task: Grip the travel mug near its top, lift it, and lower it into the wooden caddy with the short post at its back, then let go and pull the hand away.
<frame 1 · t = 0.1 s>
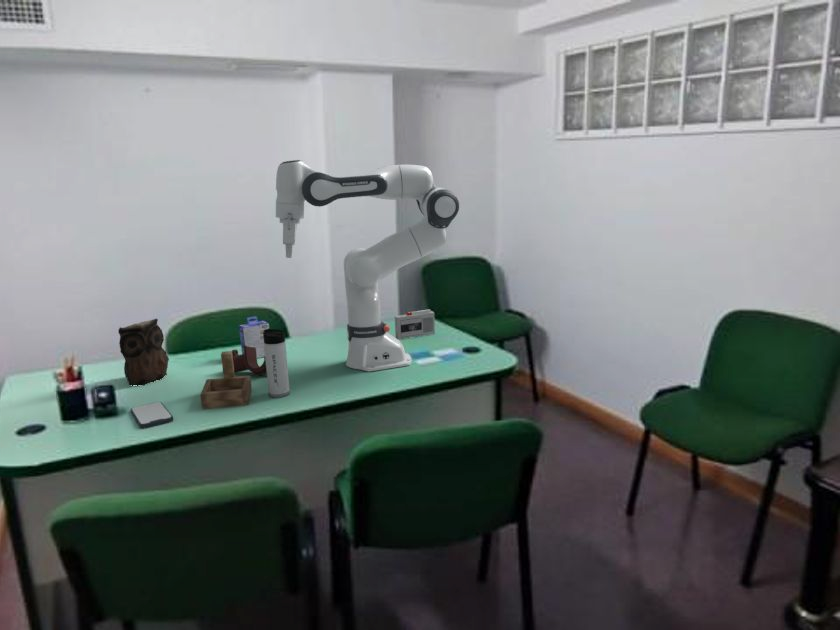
hand: (289, 255, 205), 39 cm above the table, tool pointing down, fingers open, 8 cm apart
wooden caddy: (227, 398, 190), on the table
phone case: (151, 418, 179), on the table
owl: (145, 379, 210), on the table
travel mug: (279, 394, 192), on the table
cassette player: (415, 336, 249), on the table
bracket: (253, 374, 212), on the table
ink cartridge box: (257, 356, 230), on the table
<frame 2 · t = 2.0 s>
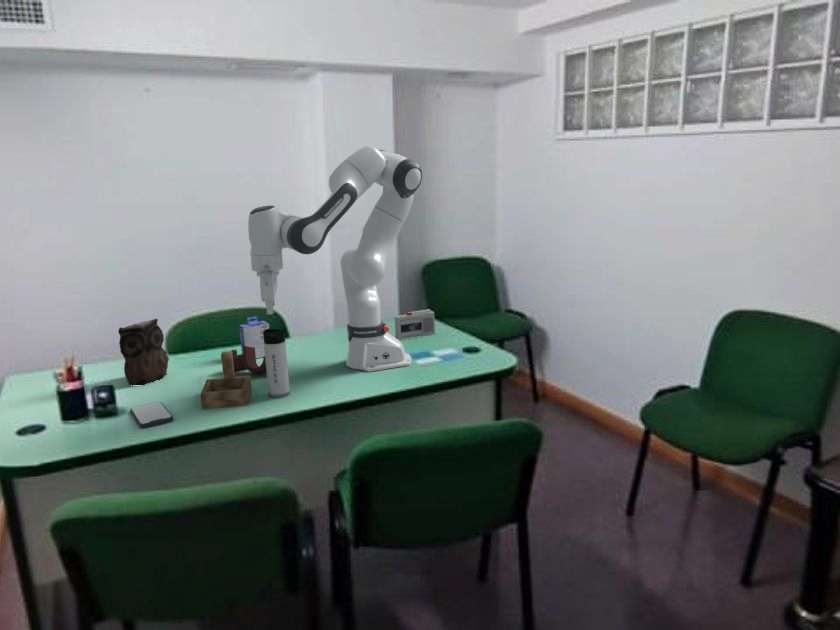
hand: (270, 310, 186), 26 cm above the table, tool pointing down, fingers open, 8 cm apart
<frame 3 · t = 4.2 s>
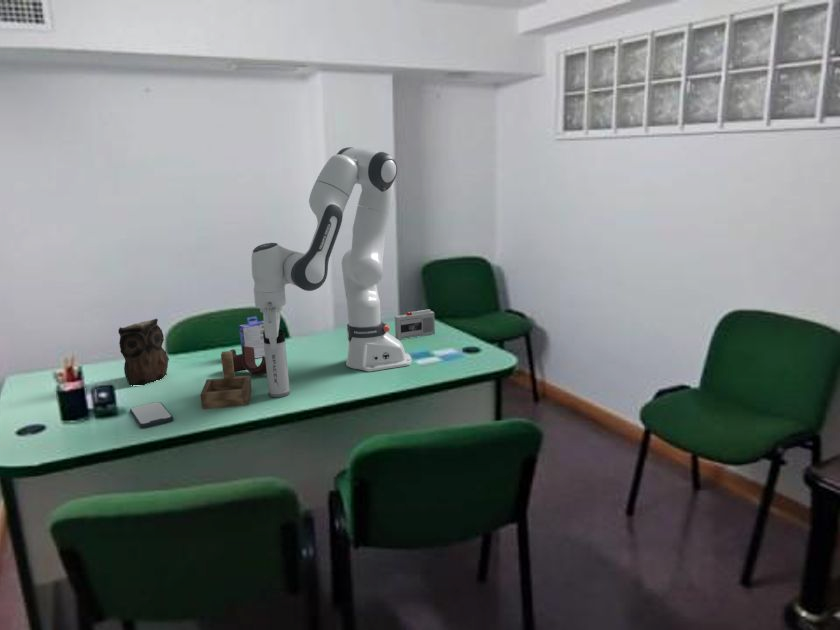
hand: (274, 344, 188), 16 cm above the table, tool pointing down, fingers closed on travel mug, 6 cm apart
travel mug: (279, 394, 192), on the table, touching gripper
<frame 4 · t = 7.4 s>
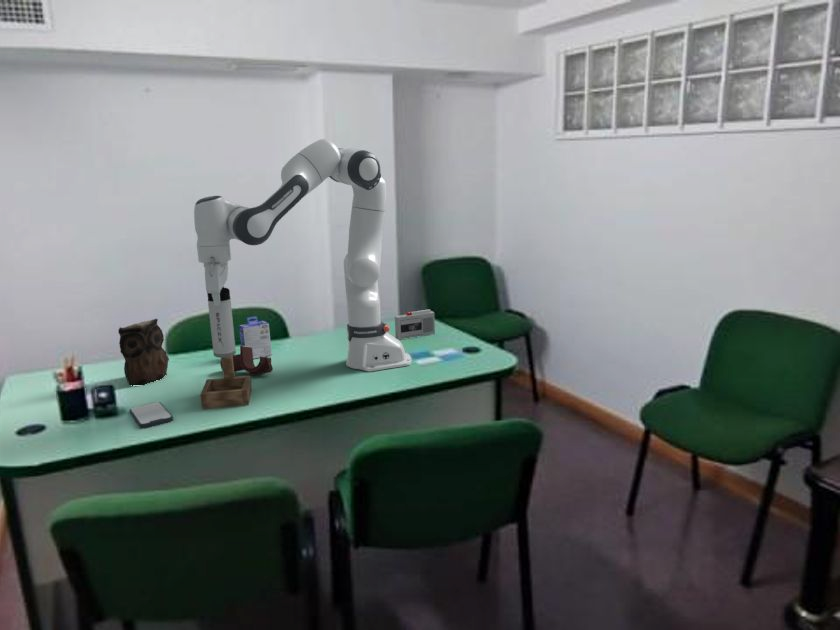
hand: (219, 302, 182), 30 cm above the table, tool pointing down, fingers closed on travel mug, 6 cm apart
travel mug: (224, 355, 186), point 14 cm above the table, touching gripper
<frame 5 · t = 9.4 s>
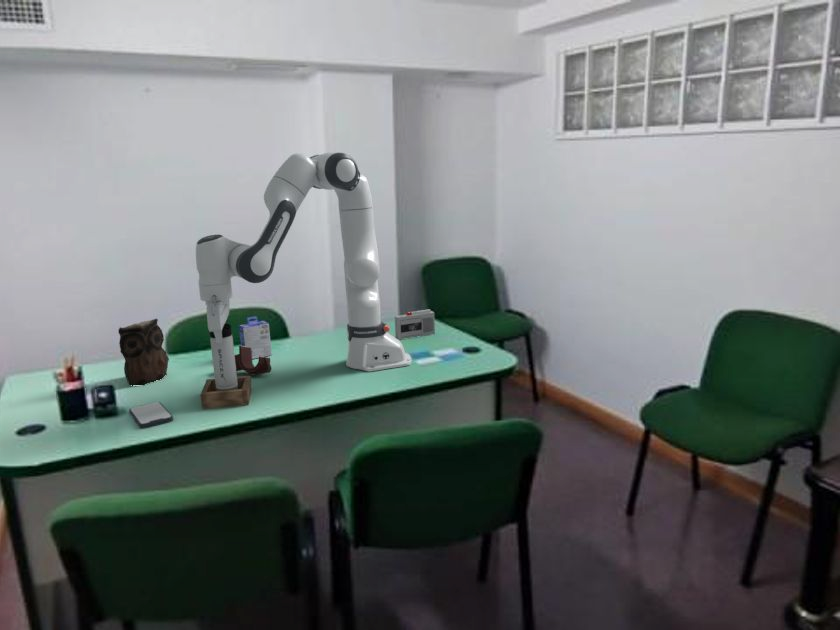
hand: (221, 338, 185), 19 cm above the table, tool pointing down, fingers closed on travel mug, 6 cm apart
travel mug: (226, 389, 189), point 3 cm above the table, touching gripper
when the fingers open (17 cm above the table, at t = 11.1 s): travel mug drops 1 cm, resting in wooden caddy.
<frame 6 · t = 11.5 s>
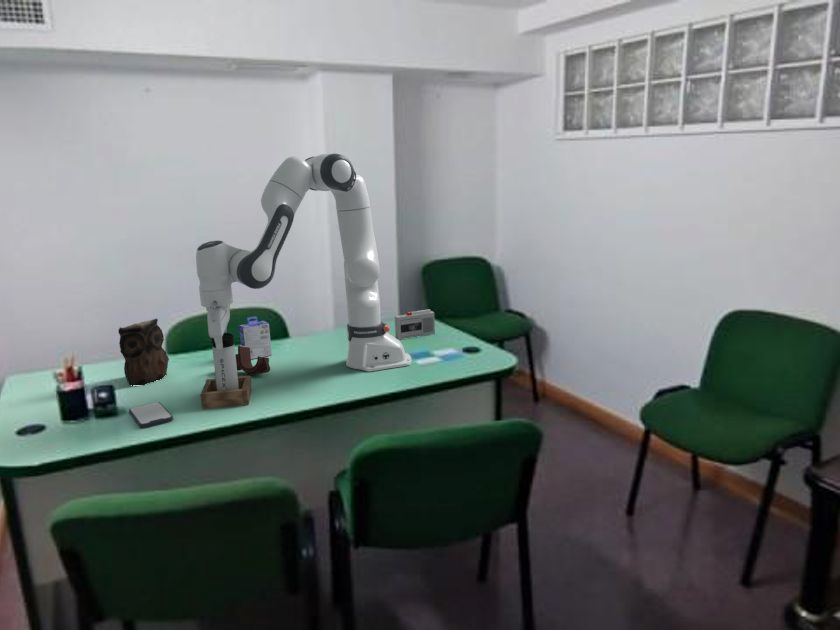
hand: (221, 344, 186), 17 cm above the table, tool pointing down, fingers open, 8 cm apart
travel mug: (228, 399, 190), resting in wooden caddy
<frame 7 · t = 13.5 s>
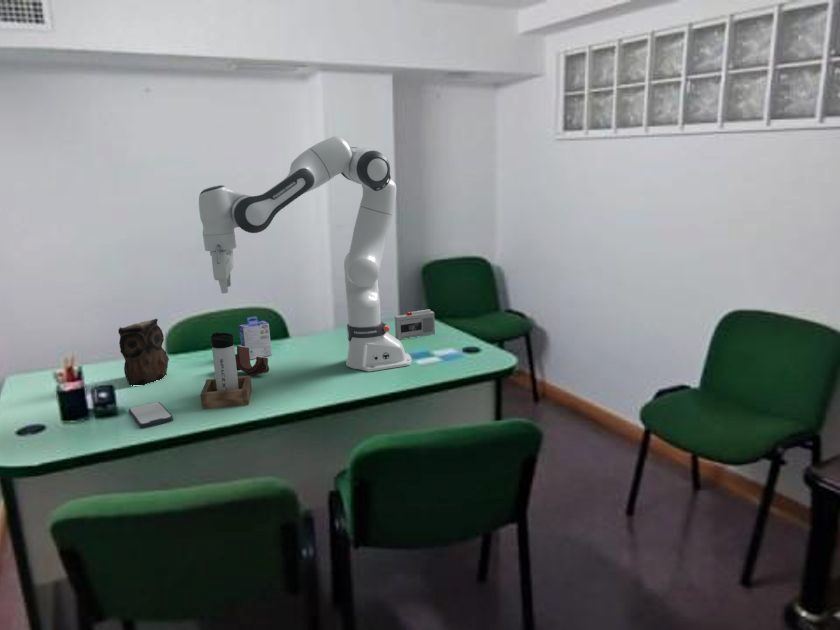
hand: (226, 289, 188), 32 cm above the table, tool pointing down, fingers open, 8 cm apart
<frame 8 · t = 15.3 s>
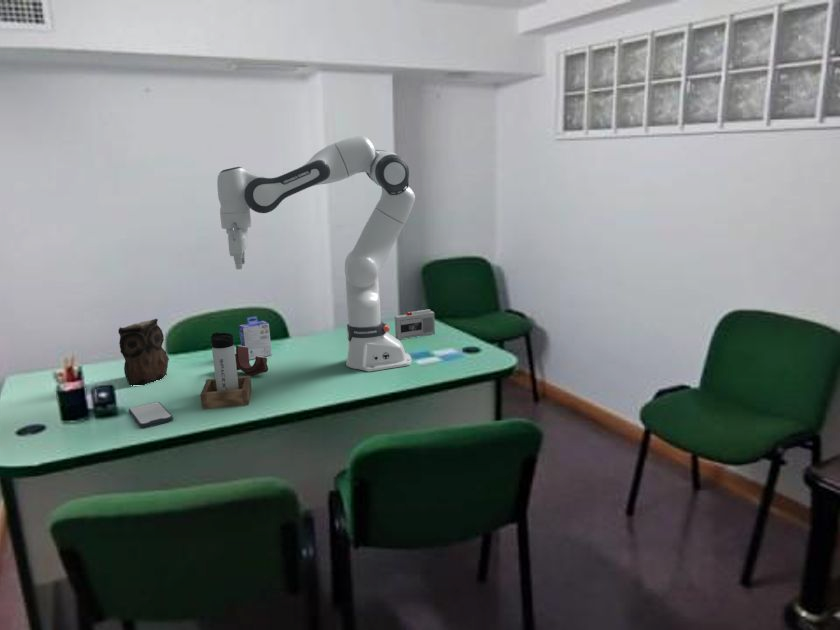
hand: (240, 266, 197), 37 cm above the table, tool pointing down, fingers open, 8 cm apart
at the end: travel mug 0.3 cm off-centre on the wooden caddy, point 0.0 cm above the wooden caddy's base; travel mug tilted 0°; the gripper is holding nothing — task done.
